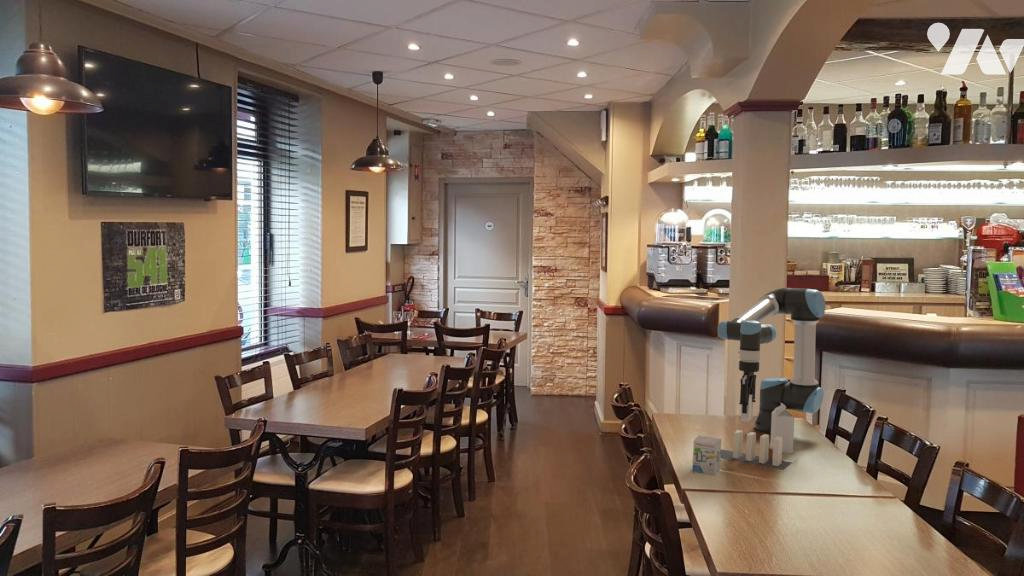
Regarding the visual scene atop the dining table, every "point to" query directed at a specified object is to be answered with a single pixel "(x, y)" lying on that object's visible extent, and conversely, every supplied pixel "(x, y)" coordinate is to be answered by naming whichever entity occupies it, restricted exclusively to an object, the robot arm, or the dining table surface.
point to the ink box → (706, 455)
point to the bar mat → (729, 455)
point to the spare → (750, 406)
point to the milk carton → (783, 428)
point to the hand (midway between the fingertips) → (746, 419)
